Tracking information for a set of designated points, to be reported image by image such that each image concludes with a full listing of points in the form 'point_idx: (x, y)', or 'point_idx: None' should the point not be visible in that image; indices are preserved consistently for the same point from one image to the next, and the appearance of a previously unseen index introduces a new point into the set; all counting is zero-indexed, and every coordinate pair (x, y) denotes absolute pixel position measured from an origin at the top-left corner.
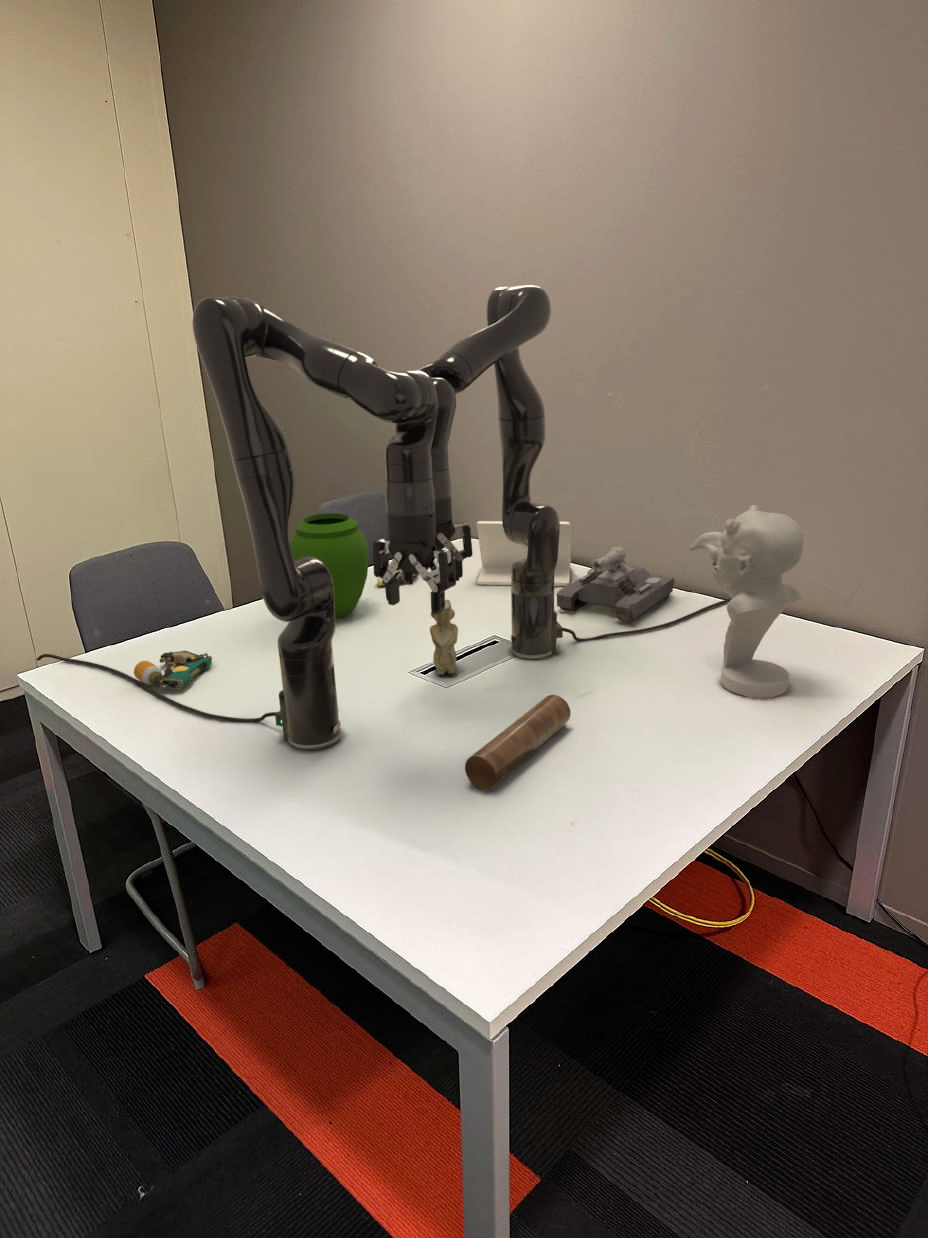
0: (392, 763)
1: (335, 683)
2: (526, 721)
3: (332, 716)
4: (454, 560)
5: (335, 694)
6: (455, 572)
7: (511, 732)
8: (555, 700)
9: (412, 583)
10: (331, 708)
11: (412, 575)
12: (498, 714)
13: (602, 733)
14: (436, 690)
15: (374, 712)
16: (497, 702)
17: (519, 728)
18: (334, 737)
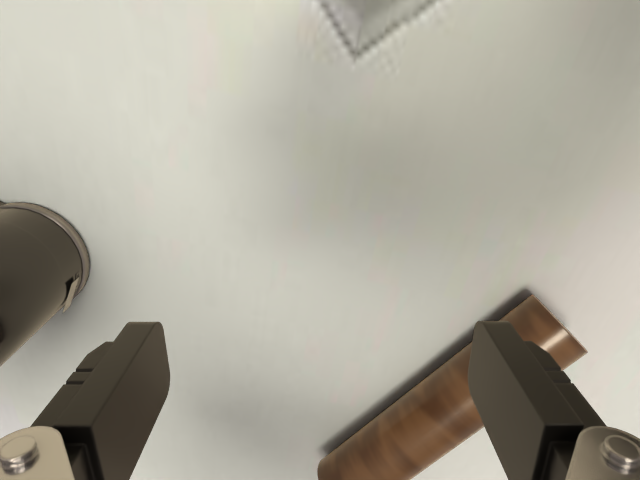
0: (201, 371)
1: (9, 333)
2: (463, 430)
3: (47, 320)
4: (538, 466)
5: (26, 328)
6: (488, 434)
7: (419, 461)
8: (564, 362)
9: (164, 391)
10: (34, 333)
11: (146, 440)
12: (443, 236)
13: (609, 352)
14: (325, 67)
15: (157, 161)
16: (461, 177)
17: (440, 449)
18: (75, 293)
